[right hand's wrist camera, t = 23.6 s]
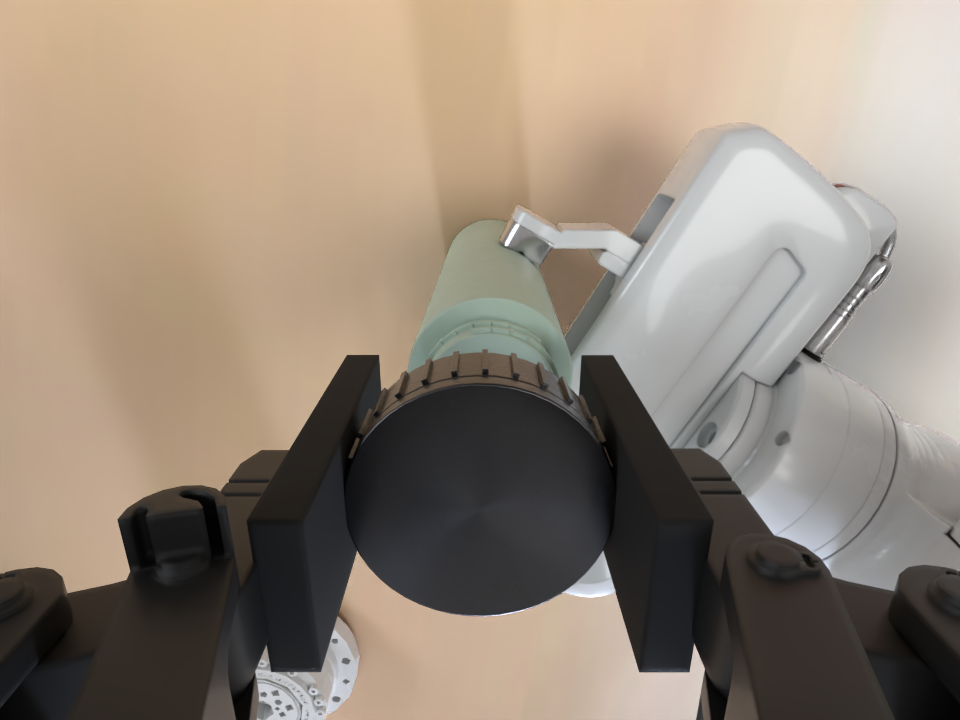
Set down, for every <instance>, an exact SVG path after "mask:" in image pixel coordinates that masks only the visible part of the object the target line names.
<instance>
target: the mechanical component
mask: <svg viewBox="0 0 960 720" xmlns="http://www.w3.org/2000/svg"><path fill="white" fill-rule="evenodd" d="M359 659H360V653H359V650H358V647H357V644H356V640H355V637H354V635H353V634H352V632H351V630H350V629H349V627H348V626H347V625H346V624H345V623H344V622H343V621H342V620H341V619H340V618H339V617H337V620H336V623H335V627H334V630H333V633H332V637H331V640H330V644H329V647H328V650H327V654H326V657H325V660H324V664H323V667H322V670H321V672H271V669H270V663H269V657H268V651H267V645H266V647H265V650H264V652H263V654H262V657H261V659H260V662H259V664H258V666H257V669H256V671H255V672H256V678H257V684H258V691H259V703H258V712H257V720H324V719H325V716H326V715H327V714H329V713H331V712H333V711H335V710H336V709H337V708H338V707H339V706H340V705H341V704H342V703H343V702H344V701H345V700H346V699H347V698H348V697H349V696H350V694H351V691H352V689H353V686H354V684H355V681H356V677H357V672H358V665H359Z"/></svg>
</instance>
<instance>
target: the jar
mask: <svg viewBox="0 0 960 720" xmlns="http://www.w3.org/2000/svg"><path fill="white" fill-rule="evenodd" d="M506 224H507V222H505V221H501V220H495V219H487V220H481V221H478V222H475V223H472V224H470V225H469V226H467V227H466V228H464V229H463V230H462V231H461V232H460V233H459V234H458V235H457V236H456V237H455V239H454V240H453V242H452V244H451V246H450V249H449V251H448V254H447V257H446V259H445V262H444V265H443V267H442V270H441V273H440V276H439V278H438V281H437V284H436V286H435V289H434V292H433V294H432V297H431V300H430V302H429V305H428V308H427V310H426V313H425V316H424V318H423V321H422V324H421V327H420V329H419V332H418V335H417V337H416V340H415V343H414V345H413V348H412V351H411V354H410V359H409V365H408V373H410V372H411V371H412V370H414V369H416V368H418V367H420V366H422V365H424V364H425V362H426V360H427V359H430V358H431V359H432V361H434V360H437V359H440V358H443V357H447V356H452V355H453V352H454V351H459V354H463V353H475V352H482V349H488V353H497V354H503V355H511V353H515V354H517V358H520V359H524V360H527V361H529V362H531V363H534V364H536V365H537V363H538V362H540V363H542V364H543V366H544V369H546V370H548V371H549V372H551V373H553V374H554V375H556V376H557V377H558V378H559V379H560V378H561V377H562V376H563V377H564V378H566V380H567V383H568V386H569V387H570V388H571V385H572V362H571V356H570V353H569V350H568V347H567V344H566V341H565V338H564V335H563V333H562V330H561V327H560V324H559V321H558V319H557V316H556V313H555V310H554V307H553V304H552V302H551V299H550V296H549V293H548V290H547V288H546V285H545V282H544V279H543V276H542V274H541V271H540V268H539V265H537V264H535V263H534V262H532V261H530V260H528V259H527V258H525V256H524V254H523V252H522V251H518V252H515V251H513V250H511V249H509V248H508V247H506V246H505V245H503V244H502V243H501V242H500V241H499V240H500V239H499V237H500V235H501V233H502V231H503V230H504V228H505V226H506Z"/></svg>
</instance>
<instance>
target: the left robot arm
mask: <svg viewBox="0 0 960 720" xmlns="http://www.w3.org/2000/svg"><path fill="white" fill-rule="evenodd" d="M896 226H897V221H896V219H895V217H894V215H893V214H892V213H891V212H890V211H889V210H888V208H887V207H886V206H885V205H883V204H882V203H880V202H879V201H877V200H876V199H874V198H873V197H871V196H870V195H868V194H867V193H865V192H864V191H862V190H861V189H859V188H858V187H855V186H853V185H849V184H844V183H834V184H831V183H830V182H829V181H828V180H827V179H826V178H825V177H824V176H823V175H822V174H821V173H820V172H819V171H818V170H817V169H816V168H815V167H813V166H812V165H811V164H810V163H809V162H808V161H806V160H805V159H804V158H803V157H802V156H801V155H799V154H798V153H797V152H796V151H795V150H793V149H792V148H791V147H790V146H788V145H787V144H786V143H784V142H783V141H782V140H780V139H779V138H778V137H776V136H775V135H774V134H772V133H771V132H769V131H768V130H766V129H764V128H763V127H761V126H758V125H754V124H750V123H739V122H738V123H729V124H723V125H719V126H714V127H711V128H707V129H703V130H701V131H699V132H698V133H696V134H695V135H694V136H693V138H692V139H691V141H690V142H689V144H688V145H687V147H686V148H685V150H684V151H683V153H682V154H681V156H680V157H679V159H678V161H677V162H676V164H675V165H674V167H673V168H672V170H671V171H670V173H669V174H668V176H667V178H666V179H665V181H664V182H663V184H662V185H661V187H660V188H659V190H658V191H657V193H656V194H655V196H654V198H653V199H652V201H651V202H650V204H649V205H648V207H647V208H646V210H645V211H644V213H643V215H642V216H641V218H640V219H639V221H638V222H637V224H636V225H635V227H634V228H633V230H632V232H631V233H630V235H629V236H628V235H627V234H625V233H623V232H622V231H620V230H618V229H616V228H615V227H613V226H611V225H610V224H608V223H606V222H599V223H558V224H557V225H556V226H555V225H554V224H552V223H550V222H549V221H547V220H545V219H543V218H542V217H540V216H538V215H537V214H535V213H533V212H532V211H530V210H528V209H526V208H524V207H522V206H520V205H518V204H517V206H516V208H515V210H514V212H513V213H512V215H511V217H510V219H509V220H508V222H507V224H506V226H505V228H504V230H503V231H502V233H501V235H500V237H499V239H500V240H499V241H500V242H501V243H502V244H503V245H505V246H506V247H508V248H509V249H511V250H513V251H515V252H518V251H522V252H523V254H524V256H525V258H527V259H528V260H530V261H532V262H534V263H535V264H537V265H539V266H540V265H541V264H542V262H543V261H544V259H545V258H546V256H547V254H548V253H549V251H550V250H551V248H553V249H590V254H591V255H592V257H593V258H594V259H595V260H596V261H597V262H598V264H599V265H601V266H603V267H604V268H606V269H607V270H606V272H605V273H604V275H603V276H602V278H601V279H600V281H599V282H598V284H597V286H596V287H595V289H594V290H593V292H592V293H591V295H590V296H589V298H588V299H587V301H586V302H585V304H584V306H583V307H582V309H581V310H580V312H579V313H578V315H577V316H576V318H575V319H574V321H573V323H572V324H571V326H570V327H569V329H568V330H567V332H566V333H565V335H564V338H565V341H566V344H567V347H568V350H569V353H570V356H571V362H572V385H571V389H572V390H573V391H574V392H575V393H576V394H577V395H578V396H579V386H580V370H581V355H613V356H614V357H615V359H616V360H617V362H618V364H619V365H620V367H621V369H622V370H623V372H624V374H625V375H626V377H627V379H628V380H629V382H630V383H631V385H632V387H633V388H634V390H635V392H636V393H637V395H638V397H639V398H640V400H641V401H642V403H643V405H644V406H645V408H646V410H647V411H648V413H649V415H650V416H651V418H652V420H653V421H654V423H655V424H656V426H657V428H658V429H659V431H660V433H661V434H662V436H663V438H664V439H665V441H666V443H667V444H668V446H669V447H670V448H699V449H701V450H703V451H704V452H706V453H707V454H709V455H710V456H712V457H713V458H715V459H716V460H718V461H719V462H720V463H721V464H722V465H723V467H724V468H725V469H726V471H727V472H728V473H729V475H730V476H731V477H732V481H734V482H735V483H736V484H737V486H738V487H739V488H740V490H741V491H742V495H745V496H746V498H747V499H748V501H749V502H750V503H751V505H752V506H753V507H754V509H755V510H756V511H757V513H758V514H759V515H760V517H761V518H762V519H763V521H764V522H765V524H766V525H767V526H768V528H769V529H770V530H771V532H772V533H773V534H774V535H775V536H779V537H783V538H787V539H789V540H791V541H793V542H796V543H798V544H800V545H802V546H804V547H806V548H807V549H809V550H810V551H811V552H813V553H814V554H816V555H817V556H818V557H820V558H821V560H822V561H823V562H824V564H825V565H826V566H827V568H828V569H829V570H830V573H831V575H832V577H834V578H838V579H841V580H845V581H848V582H853V583H858V584H863V585H868V586H872V587H877V588H882V589H887V590H891V591H894V589H895V586H896V583H897V579H898V576H899V574H900V573H901V572H902V571H904V570H905V569H906V568H907V567H912V566H918V565H931V566H940V567H947V568H951V569H955V570H956V571H960V444H959V443H957V442H955V441H954V440H952V439H950V438H949V437H947V436H945V435H943V434H941V433H939V432H937V431H934V430H931V429H929V428H926V427H922V426H919V425H914V424H909V423H905V422H903V421H902V420H901V419H900V417H899V416H898V415H897V414H896V412H895V411H894V410H893V409H892V408H891V407H890V406H889V405H888V404H887V403H886V402H885V401H884V400H882V399H881V398H880V397H878V396H877V395H876V394H874V393H873V392H871V391H870V390H868V389H866V388H864V387H863V386H861V385H859V384H858V383H856V382H854V381H853V380H851V379H849V378H848V377H846V376H844V375H843V374H841V373H839V372H838V371H836V370H834V369H833V368H831V367H829V366H827V365H826V364H824V363H822V362H821V360H820V359H821V358H822V357H823V356H824V354H825V353H826V352H827V351H828V349H829V348H830V347H831V346H832V345H833V343H834V342H835V341H836V340H837V339H838V337H839V336H840V335H841V334H842V332H843V331H844V330H845V328H846V327H847V326H848V324H849V323H850V322H849V321H850V320H852V318H853V315H854V314H855V313H856V312H857V311H858V310H857V309H858V308H860V306H861V305H862V302H864V301H865V300H866V299H867V298H868V297H869V296H870V294H873V293H875V292H876V291H877V290H878V289H879V288H880V286H881V285H882V284H883V283H884V281H885V280H886V279H887V277H888V275H889V274H890V272H891V270H892V268H893V266H894V264H893V263H892V262H891V261H890V260H888V259H889V258H890V256H891V254H892V252H893V250H894V247H895V243H896V237H897V228H896ZM881 246H882V247H881ZM880 248H881V249H880ZM879 249H880V252H879V254H876V253H877V251H878V250H879ZM614 592H615V588H614V585H613V582H612V578H611V575H610V572H609V568H608V565H607V562H606V558H605V555H604V551H602V553H601V555H600V556H599V558H598V559H597V561H596V562H595V564H594V565H593V566H592V567H591V568H590V569H589V571H588V572H587V573H586V574H585V575H584V576H583V577H582V578H581V579H580V580H579V581H577V582H576V583H575V584H574V585H573V586H571V587H570V588H569V589H567V590H566V591H564V592H563V593H567V594H570V595H574V596H579V597H589V598H591V597H602V596H607V595H610V594H612V593H614Z"/></svg>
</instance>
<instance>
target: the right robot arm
mask: <svg viewBox="0 0 960 720" xmlns="http://www.w3.org/2000/svg"><path fill="white" fill-rule="evenodd" d="M380 394H381V380H380V364H379V355H347V356H346V358H345V359H344V361H343V363H342V364H341V366H340V368H339V369H338V371H337V373H336V374H335V376H334V378H333V379H332V381H331V382H330V384H329V386H328V387H327V389H326V391H325V392H324V394H323V396H322V397H321V399H320V400H319V402H318V404H317V405H316V407H315V409H314V410H313V412H312V414H311V415H310V417H309V419H308V420H307V422H306V423H305V425H304V427H303V428H302V430H301V432H300V433H299V435H298V437H297V438H296V440H295V442H294V443H293V445H292V446H291V448H290V450H261V451H259V452H258V453H256V454H255V455H253V456H252V457H250V458H249V459H247V460H246V461H244V462H243V463H241V464H240V465H239V467H238V468H237V470H236V471H235V472H234V474H233V475H232V476H231V478H230V479H229V483H226V485H225V486H224V487H223V489H222V490H221V491H218V490H217V489H215V488H211V487H206V486H202V485H199V486H180V487H176V488H171V489H166V490H162V491H160V492H157V493H155V494H152V495H150V496H147V497H144V498H143V499H141V500H139V501H138V502H136V503H135V504H133V505H132V506H130V507H128V508H127V509H126V510H125V512H124V513H123V514H122V515H121V516H120V517H119V518H118V524H119V528H120V532H121V535H122V539H123V543H124V547H125V551H126V555H127V559H128V563H129V567H130V574H129V576H128V578H127V580H125V581H121V582H118V583H114V584H110V585H105V586H100V587H96V588H91V589H86V590H81V591H77V592H72V593H67V591H66V588H65V584H64V581H63V578H62V576H61V575H59V574H58V573H57V572H56V571H54V570H52V569H46V568H39V567H35V568H26V569H18V570H13V571H9V572H5V573H4V574H2V573H1V574H0V720H257V712H258V703H259V691H258V684H257V678H256V672H255V671H256V669H257V666H258V664H259V662H260V659H261V657H262V654H263V652H264V650H265V647H266V645H267V651H268V657H269V663H270V669H271V672H321V670H322V667H323V664H324V660H325V657H326V654H327V650H328V647H329V644H330V640H331V637H332V633H333V630H334V627H335V623H336V620H337V617H338V613H339V610H340V606H341V603H342V600H343V596H344V593H345V590H346V586H347V583H348V580H349V576H350V573H351V569H352V566H353V563H354V559H355V556H356V553H357V549H356V547H355V545H354V543H353V541H352V538H351V535H350V533H349V530H348V527H347V520H346V510H345V499H344V487H345V480H346V476H347V472H348V468H349V465H350V463H349V462H347V459H348V456H349V454H350V451H351V449H352V446H353V444H354V442H355V439H356V437H357V434H358V432H359V430H360V427H361V425H362V422H363V420H364V418H365V415H366V413H367V411H368V409H371V410H373V409H374V407H375V406H376V404H377V402H378V399H379V396H380ZM581 394H582V395H583V397H584V398H585V400H586V403H587V405H588V408H589V410H590V413H591V415H592V417H593V416H596V418H597V420H598V422H599V425H600V427H601V430H602V432H603V434H604V437H605V439H606V442H607V444H608V445H607V446H605V448H606V451H607V453H608V456H609V458H610V461H611V463H612V466H613V467H612V470H613V473H614V478H615V483H616V503H615V514H614V524H613V528H612V531H611V535H610V537H609V539H608V541H607V544H606V546H605V548H604V550H603V551H604V555H605V558H606V562H607V565H608V568H609V572H610V575H611V578H612V582H613V585H614V588H615V592H616V595H617V599H618V602H619V605H620V609H621V612H622V615H623V619H624V622H625V625H626V629H627V632H628V636H629V639H630V642H631V646H632V649H633V652H634V656H635V659H636V662H637V666H638V669H639V672H690V665H691V659H692V653H693V647H694V643H695V646H696V648H697V651H698V653H699V655H700V658H701V660H702V662H703V665H704V667H705V672H704V678H703V684H702V690H701V695H700V701H699V707H698V713H697V718H696V720H960V571H956V570H955V569H951V568H947V567H940V566H931V565H918V566H912V567H907V568H906V569H905V570H904V571H902V572H901V573H900V574H899V576H898V579H897V583H896V586H895V589H894V591H891V590H887V589H882V588H877V587H872V586H868V585H863V584H858V583H853V582H848V581H845V580H841V579H838V578H834V577H832V575H831V573H830V570H829V569H828V568H827V566H826V565H825V564H824V562H823V561H822V560H821V558H820V557H818V556H817V555H816V554H814V553H813V552H811V551H810V550H809V549H807V548H806V547H804V546H802V545H800V544H798V543H796V542H793V541H791V540H789V539H787V538H783V537H779V536H775V535H774V534H773V533H772V532H771V530H770V529H769V528H768V526H767V525H766V524H765V522H764V521H763V519H762V518H761V517H760V515H759V514H758V513H757V511H756V510H755V509H754V507H753V506H752V505H751V503H750V502H749V501H748V499H747V498H746V496H745V495H742V491H741V490H740V488H739V487H738V486H737V484H736V483H735V482H734V481H732V477H731V476H730V475H729V473H728V472H727V471H726V469H725V468H724V467H723V465H722V464H721V463H720V462H719V461H718V460H716V459H715V458H713V457H712V456H710V455H709V454H707V453H706V452H704V451H703V450H701V449H699V448H670V447H669V446H668V444H667V443H666V441H665V439H664V438H663V436H662V434H661V433H660V431H659V429H658V428H657V426H656V424H655V423H654V421H653V420H652V418H651V416H650V415H649V413H648V411H647V410H646V408H645V406H644V405H643V403H642V401H641V400H640V398H639V397H638V395H637V393H636V392H635V390H634V388H633V387H632V385H631V383H630V382H629V380H628V379H627V377H626V375H625V374H624V372H623V370H622V369H621V367H620V365H619V364H618V362H617V360H616V359H615V357H614V356H613V355H581V370H580V386H579V396H580V395H581Z"/></svg>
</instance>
